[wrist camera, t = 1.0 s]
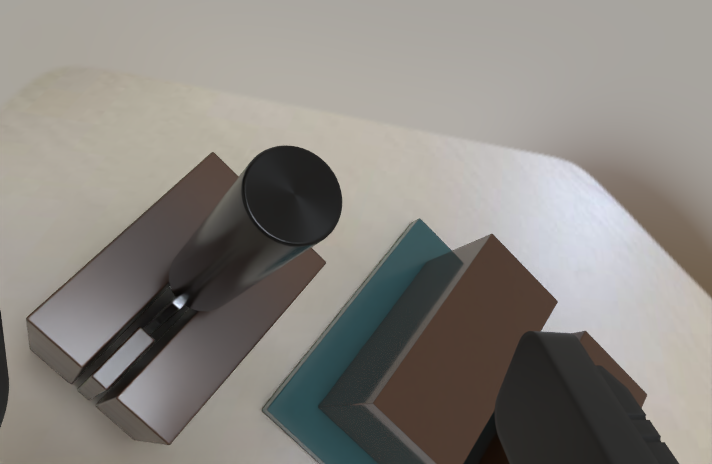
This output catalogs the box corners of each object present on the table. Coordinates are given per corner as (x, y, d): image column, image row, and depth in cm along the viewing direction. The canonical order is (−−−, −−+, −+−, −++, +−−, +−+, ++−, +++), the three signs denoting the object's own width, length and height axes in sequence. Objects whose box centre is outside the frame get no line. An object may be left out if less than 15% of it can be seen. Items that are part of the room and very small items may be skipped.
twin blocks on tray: (479, 610, 38) (576, 650, 31) (261, 410, 36) (314, 406, 29) (586, 397, 46) (683, 392, 39) (412, 221, 44) (482, 182, 37)
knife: (152, 359, 34) (294, 274, 15) (115, 326, 34) (213, 195, 15) (191, 318, 36) (366, 193, 16) (156, 285, 35) (294, 119, 16)
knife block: (135, 440, 33) (169, 446, 24) (29, 348, 32) (24, 318, 23) (261, 300, 37) (327, 262, 29) (172, 216, 37) (213, 150, 28)
